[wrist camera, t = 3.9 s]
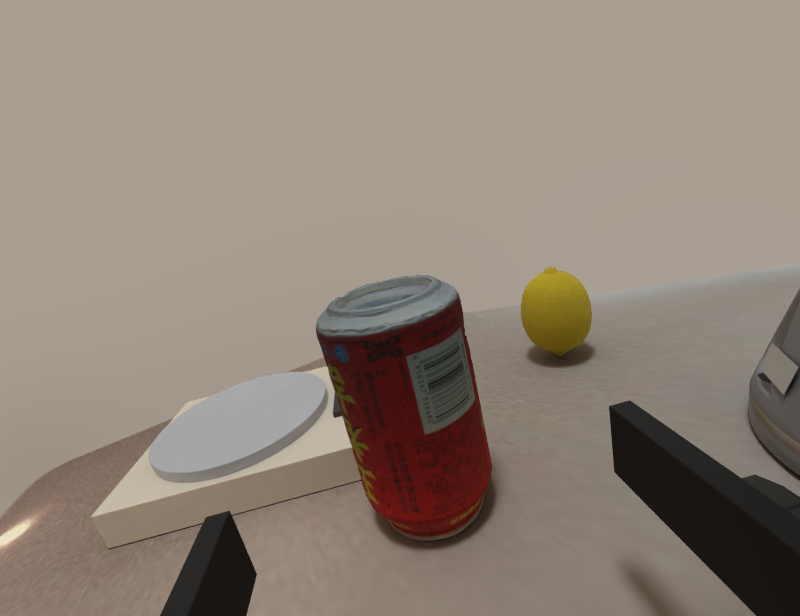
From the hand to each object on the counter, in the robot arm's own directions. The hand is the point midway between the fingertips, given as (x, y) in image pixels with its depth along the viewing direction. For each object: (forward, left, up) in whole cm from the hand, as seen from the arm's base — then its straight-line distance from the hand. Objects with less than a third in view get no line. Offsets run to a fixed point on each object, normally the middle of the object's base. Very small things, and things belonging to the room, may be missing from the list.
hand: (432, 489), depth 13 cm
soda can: (0, -7, -7) cm, 10 cm away
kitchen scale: (+12, -17, -7) cm, 22 cm away
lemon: (-14, -19, -7) cm, 25 cm away
